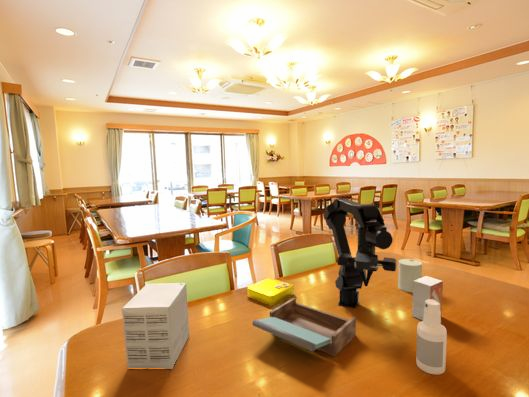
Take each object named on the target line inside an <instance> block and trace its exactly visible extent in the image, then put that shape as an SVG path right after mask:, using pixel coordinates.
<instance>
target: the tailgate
mask: <svg viewBox="0 0 529 397" xmlns="http://www.w3.org/2000/svg"><path fill="white" fill-rule="evenodd" d="M252 326H253V327H255V328H258V329H260V330H261V331H265V332H267V333H269V334H271V335H273V336H276V337H278V338H280V339H283V340H285V341H287V342H289V343H291V344H294V345H297V346H299V347H301V348H304V349H306V350H308V351H310V352H312V353H313V352H315V351H316V350H318V349H317V348H320V347H322V346H324V345H327V344H329V343H330V338H327V337H324V336H322V335H319V334H317V333H314V332H312V331H309V330H306V329H304V328H301V327H299V326H296V325H294V324H291V323H288V322H286V321H283V320H281V319H278V318H276V317H270V316H269V317H265V318H261V319H257V318H256V319H254V320H253V321H252Z"/></svg>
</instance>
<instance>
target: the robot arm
mask: <svg viewBox="0 0 529 397" xmlns="http://www.w3.org/2000/svg"><path fill="white" fill-rule="evenodd" d="M322 214H323V219H324V221H325V223H326V225H327V226H328V227H329V229H331V231H332V235H333V239H334V243H335V248H336V251H337V255H338V256H337V259H336V263H337V264H336V265H338V266H339V270H338V277H337V278H336V280H335V281H334V282H335V287H336V288H337V289H338V290H339V301H338V303H337V304H338V306H344V307H349V308H356V307H357V305H358V304H359V301H360V292H359V289H360V290H361V289H362V288H363V284H364V286H365V287H368V285H369V283H370V280H371V277H372V276H373V273H374V272H377V271H378V269H379V267H382V269H383V270H384V271H386V272H388V271H389V272H396V271H397V264H398V263H397V259H396V258H394V257H383V259H379V256H378V254H376V248H378V249H380V250H387V249H389V248H390V247H391V246H392V244H393V240H394V239H393V236H392V234H391V232H389V231H387V230H388V229H387V227H386V226H385V220H384V218H383V216H382V214H381V211H380V209H379V207H378V206H377V205H376V204H375V203H374V204H372V203H370V204H368V203H365V204H364V203H362V204H361V203H359V202H355V201H354V200H351V199H349V198H347V197H338V198H335V199H334V200H333V201H332V203H330V204H329V205H327V206H326V207H325V209H324V211H323V213H322ZM348 214H350V215H352V217H353V219H354V220H355V221H356V223H355V225H354V226H355V227H357V250H356V254H355V257H354V256H353V255H352V252H351V248H350V246H349V241H348V237H347V234H346V229H345V223H346V220H347V218H346V217H347V216H348Z"/></svg>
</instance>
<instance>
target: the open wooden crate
mask: <svg viewBox="0 0 529 397" xmlns="http://www.w3.org/2000/svg"><path fill="white" fill-rule="evenodd" d="M269 317H276V318H278V319H281V320H283V321H286V322H288V323H291V324H294V325H296V326H299V327H301V328H304V329H306V330H309V331H312V332H314V333H317V334H319V335H322V336H324V337H327V338H330V343H329V344H327V345H324V346H322V347H320V348H317V349H316V350H319V351H321V352H324V353H326V354H328V355H331V356H333V357H336V356H337V355H338V354H339V353H340V352H341V351H342V350H343V349H344V348H345V347H346V346H347V345H348V344H350V342H351V341H352V340H353V339H354V338H355V337H356V336H357V331H356V330H357V325H356V324H357V323H356V322H357V320H356V319H357V318H356V317H355V316H352V317H350V318H349V319H347V318H344V317H341V316H338V315H335V314H333V313H329V312H327V311H323V310H320V309H316V308H314V307H310V306H307V305H306V304H302V303H298V302H297V299H296V298H295V297H292V298H290V299H289V300H288V301H285V302H284V303H282V304H280V305H278V306H277V307H275V308H274V309H272V310H270V311H269Z"/></svg>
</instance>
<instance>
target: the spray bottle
mask: <svg viewBox="0 0 529 397" xmlns="http://www.w3.org/2000/svg"><path fill="white" fill-rule="evenodd" d="M441 318H442V315H441V311H440V304H439V303H438V302H437V301H435V300H433V299H427V300H425V308H424V316H423V320H421V321H419V322H418V323H417V324H416V325H417V326H416V356H415V358H416V359H415V360H416V361H415V362H416V366H417V368H419V369H420V370H421V371H423V372H424V373H427V374H430V375H435V376H436V375H442V374H444V373H445V371H446V366H447V365H446V364H447V363H446V362H447V335H448V334H447V333H448V332H447V328H446V327H445V326H444V325H443V324H441V323H442V319H441Z"/></svg>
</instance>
